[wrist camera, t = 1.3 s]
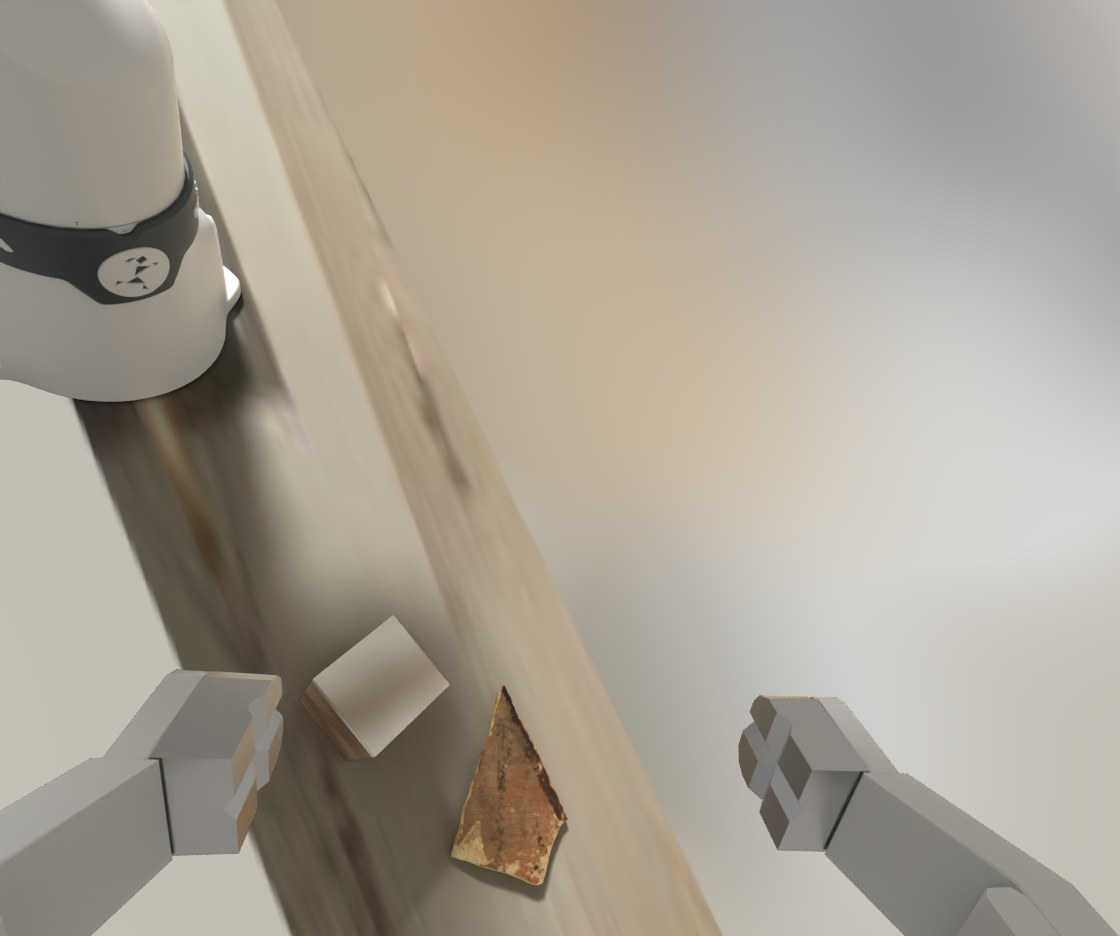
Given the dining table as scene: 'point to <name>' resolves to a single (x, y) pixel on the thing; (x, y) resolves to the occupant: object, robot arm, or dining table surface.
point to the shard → (509, 803)
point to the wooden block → (373, 691)
